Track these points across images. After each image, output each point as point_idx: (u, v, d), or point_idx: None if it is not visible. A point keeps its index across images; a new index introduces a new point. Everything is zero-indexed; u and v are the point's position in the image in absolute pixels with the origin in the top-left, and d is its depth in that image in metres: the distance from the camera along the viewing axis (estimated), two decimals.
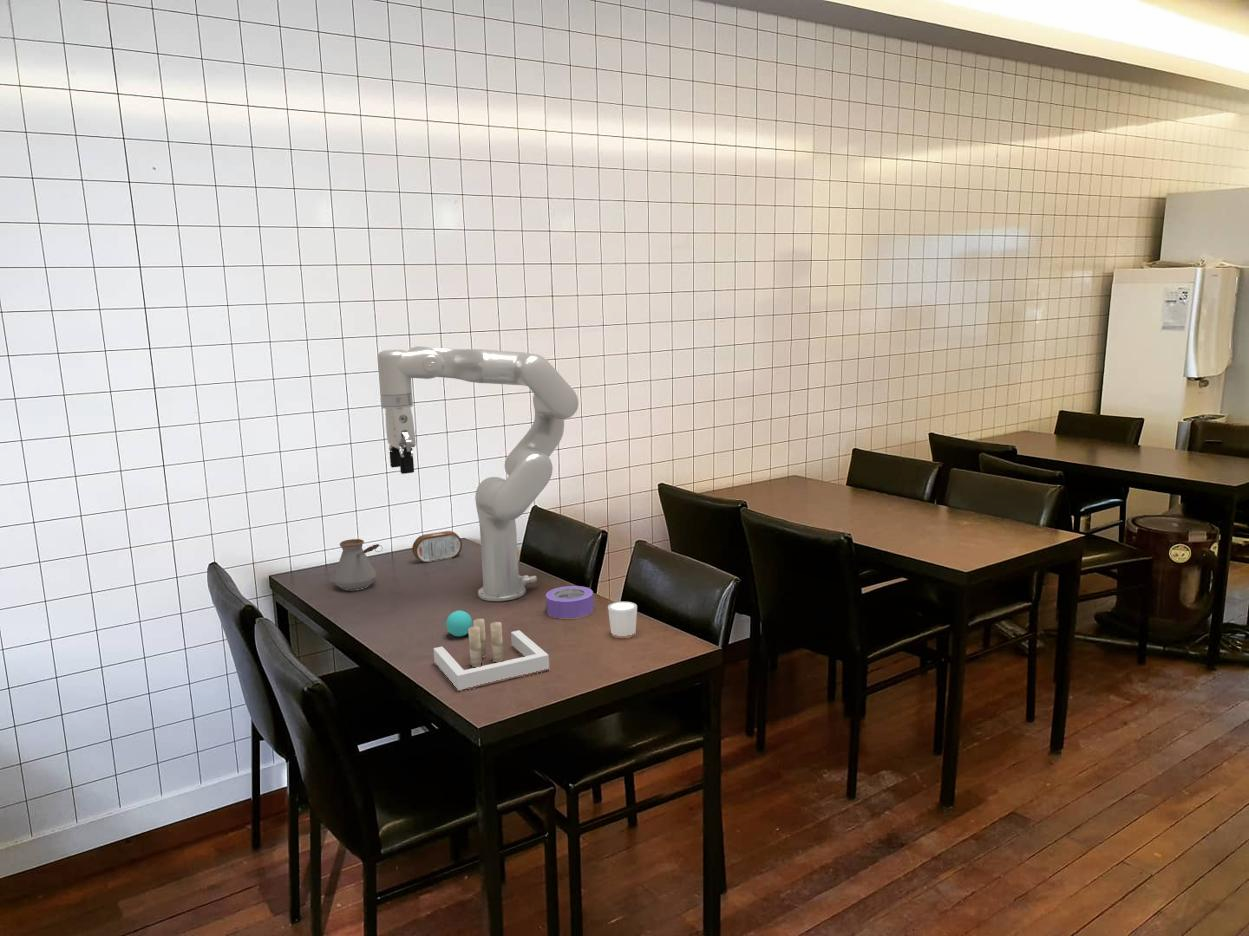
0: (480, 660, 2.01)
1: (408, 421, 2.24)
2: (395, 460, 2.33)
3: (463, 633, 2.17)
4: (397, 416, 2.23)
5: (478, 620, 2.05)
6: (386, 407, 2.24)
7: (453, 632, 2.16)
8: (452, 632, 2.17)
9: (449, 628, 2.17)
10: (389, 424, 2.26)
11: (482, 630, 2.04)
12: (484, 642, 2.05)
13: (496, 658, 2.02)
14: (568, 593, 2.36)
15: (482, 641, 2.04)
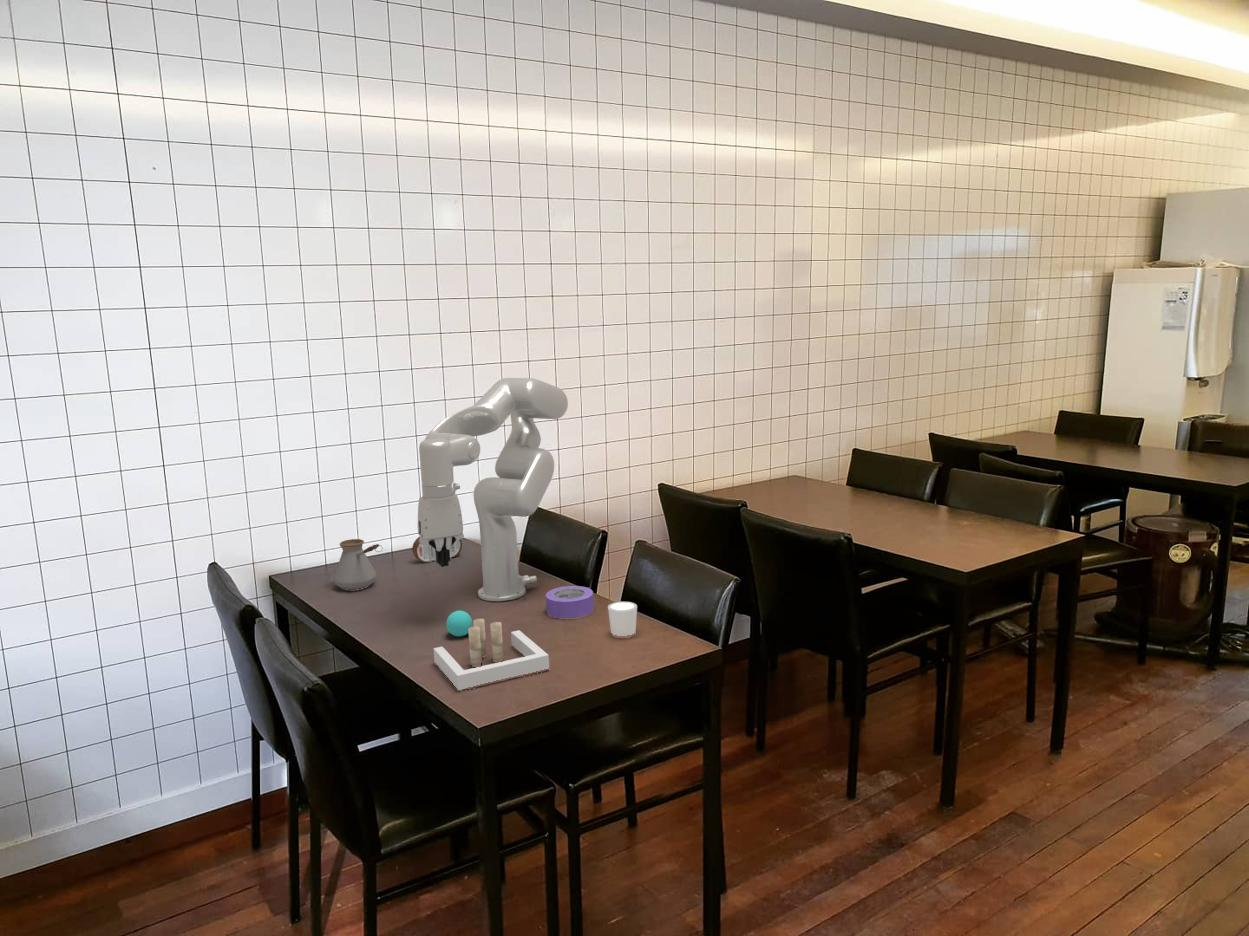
0: (480, 660, 2.01)
1: None
2: None
3: (463, 633, 2.17)
4: None
5: (478, 620, 2.05)
6: (450, 496, 2.19)
7: (453, 632, 2.16)
8: (452, 632, 2.17)
9: (449, 628, 2.17)
10: (446, 514, 2.20)
11: (482, 630, 2.04)
12: (484, 642, 2.05)
13: (496, 658, 2.02)
14: (568, 593, 2.36)
15: (482, 641, 2.04)
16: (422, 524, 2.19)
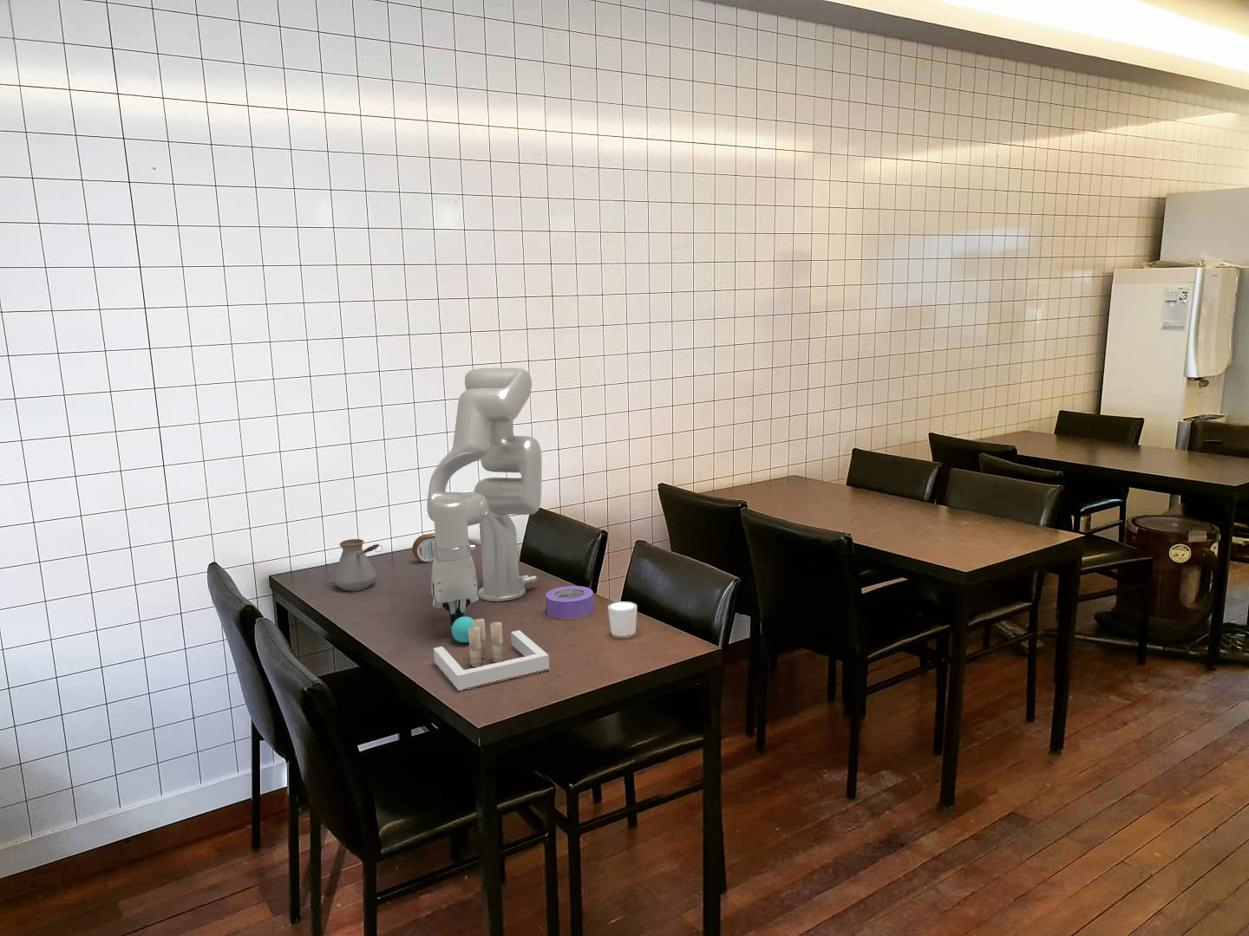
0: (480, 660, 2.01)
1: None
2: None
3: None
4: (473, 564, 2.17)
5: (478, 620, 2.05)
6: (465, 559, 2.14)
7: None
8: None
9: (453, 636, 2.14)
10: (461, 577, 2.15)
11: (482, 630, 2.04)
12: (484, 642, 2.05)
13: (496, 658, 2.02)
14: (568, 593, 2.36)
15: (482, 641, 2.04)
16: (436, 587, 2.13)
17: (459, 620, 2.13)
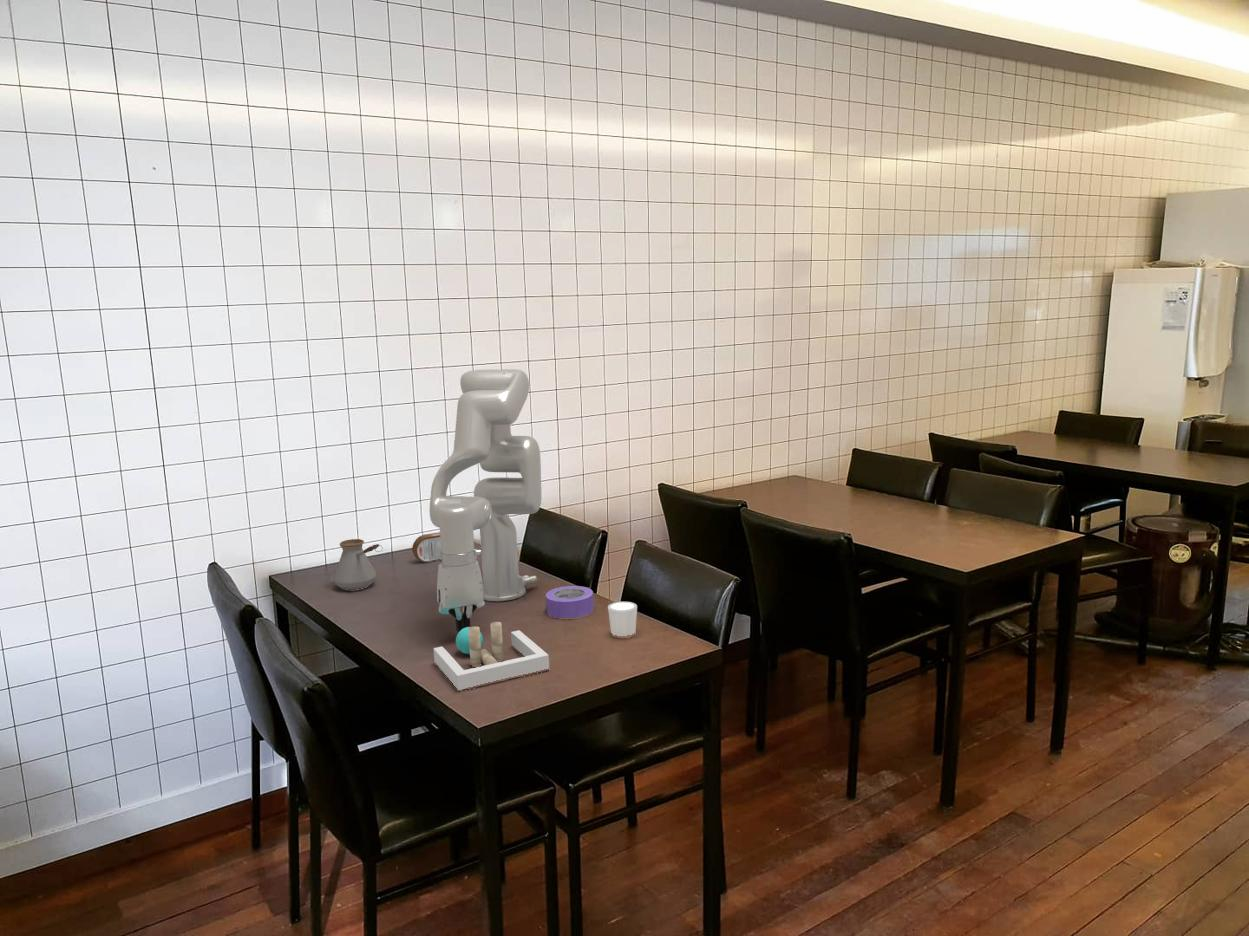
0: (480, 660, 2.01)
1: None
2: None
3: (464, 628, 2.09)
4: (479, 569, 2.14)
5: None
6: (471, 564, 2.11)
7: None
8: (456, 637, 2.08)
9: None
10: (467, 582, 2.12)
11: None
12: None
13: (496, 658, 2.02)
14: (568, 593, 2.36)
15: None
16: (442, 593, 2.11)
17: None
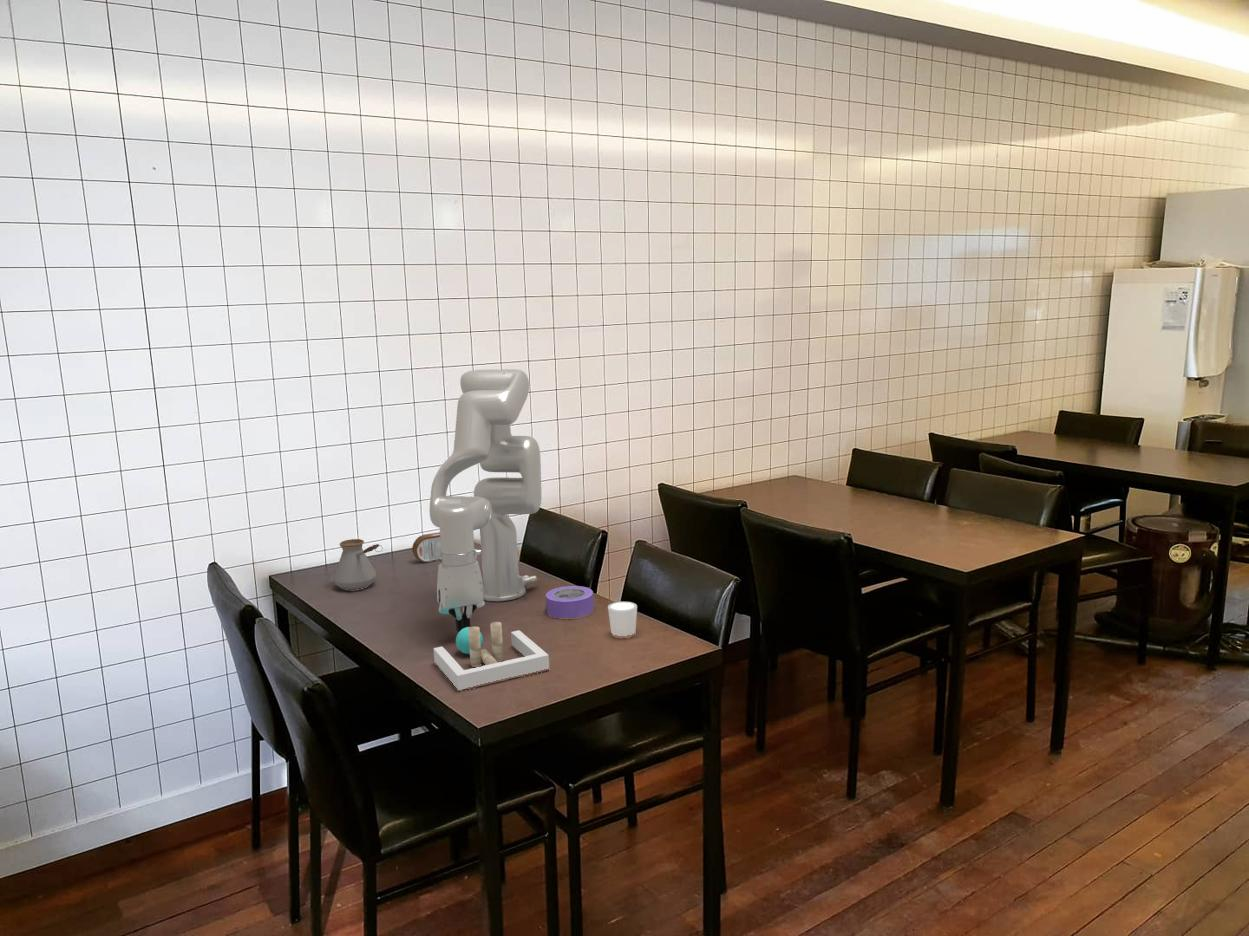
0: (480, 660, 2.01)
1: None
2: None
3: (464, 628, 2.09)
4: (479, 569, 2.14)
5: None
6: (471, 564, 2.11)
7: None
8: (456, 637, 2.08)
9: None
10: (467, 582, 2.12)
11: None
12: None
13: (496, 658, 2.02)
14: (568, 593, 2.36)
15: None
16: (442, 593, 2.11)
17: None
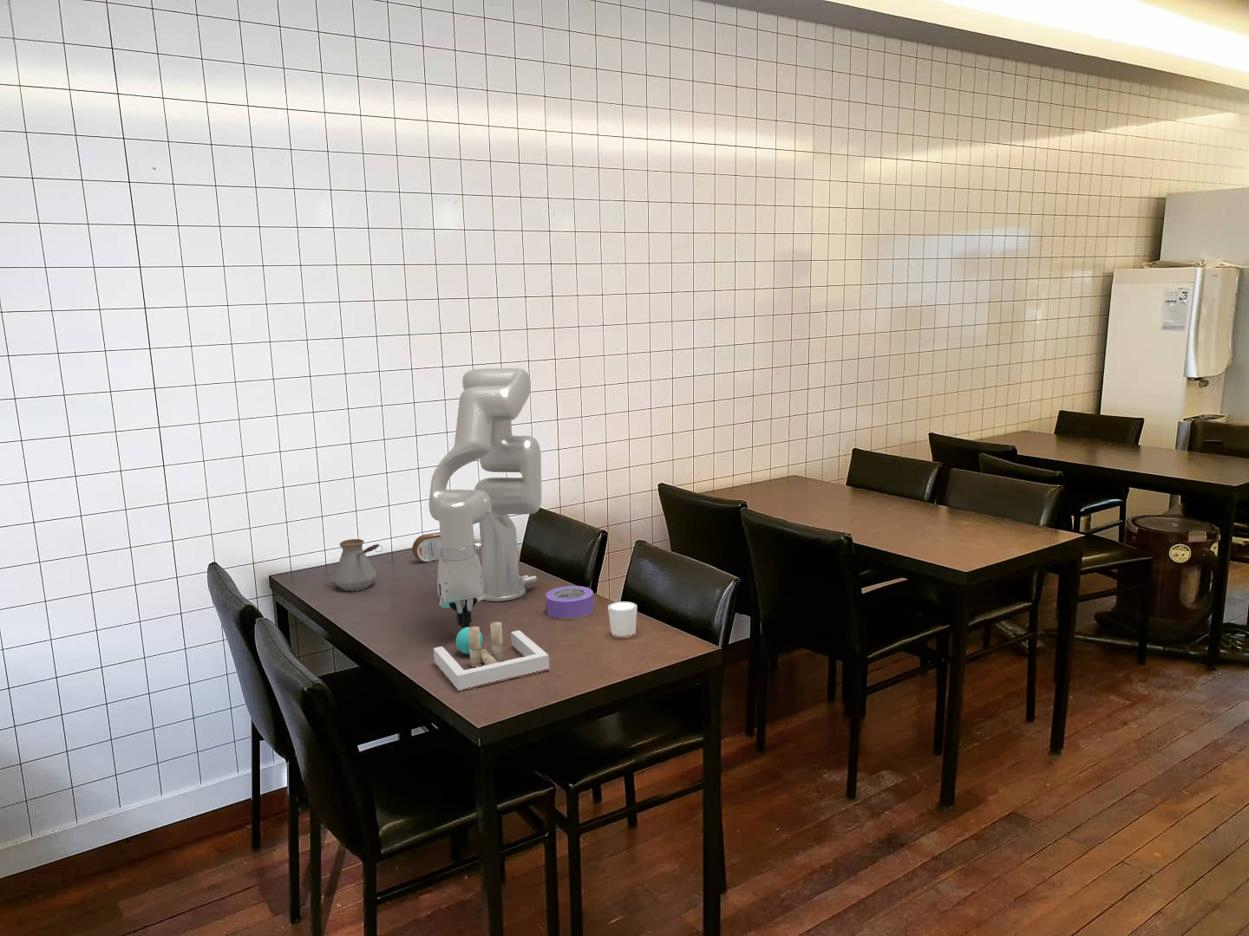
0: (480, 660, 2.01)
1: None
2: None
3: (464, 628, 2.09)
4: None
5: None
6: (471, 558, 2.11)
7: None
8: (456, 637, 2.08)
9: None
10: (467, 576, 2.12)
11: None
12: None
13: (496, 658, 2.02)
14: (568, 593, 2.36)
15: None
16: (442, 587, 2.11)
17: None
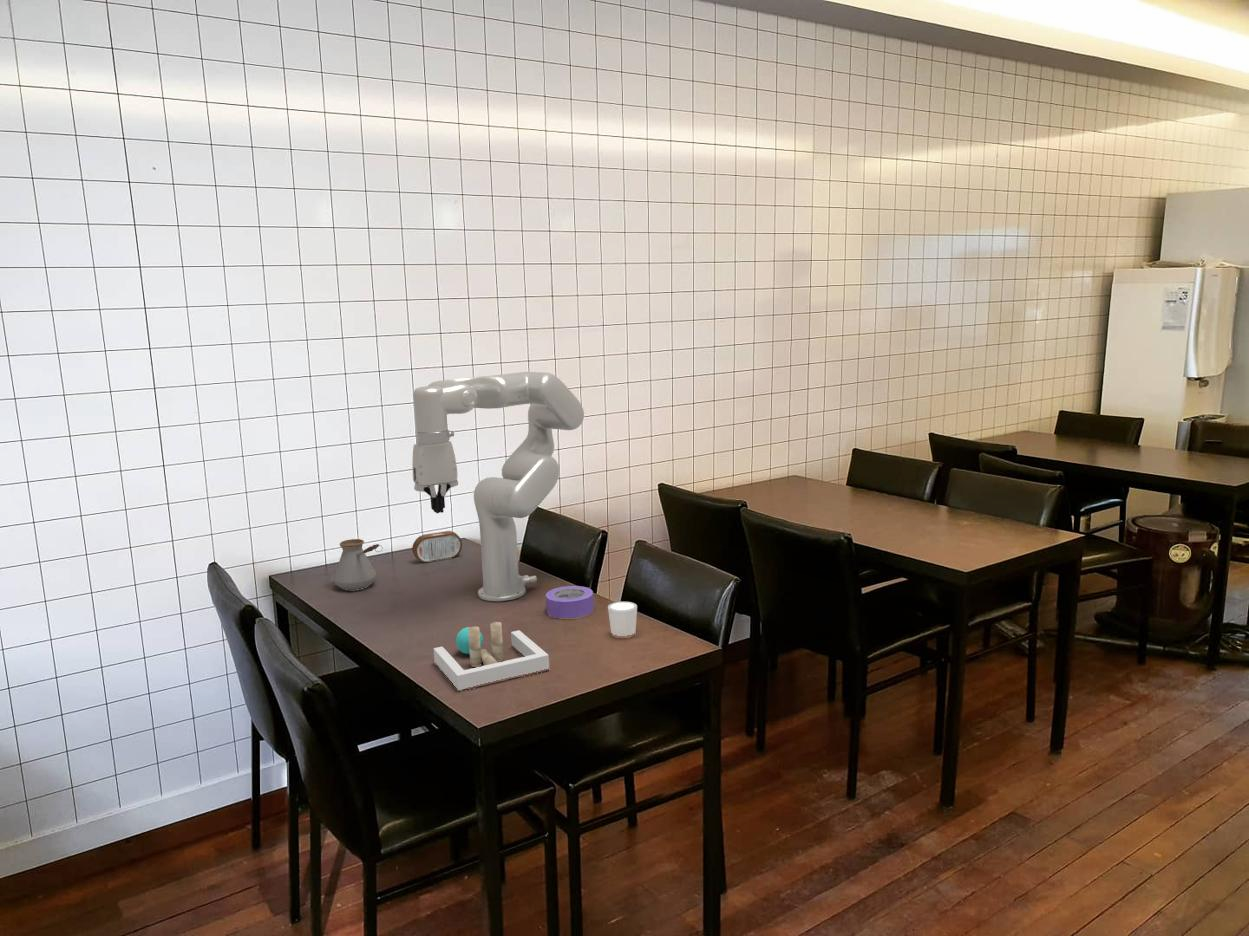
0: (480, 660, 2.01)
1: None
2: None
3: (464, 628, 2.09)
4: None
5: None
6: (445, 443, 2.22)
7: None
8: (456, 637, 2.08)
9: None
10: (441, 461, 2.23)
11: None
12: None
13: (496, 658, 2.02)
14: (568, 593, 2.36)
15: None
16: (417, 470, 2.21)
17: None
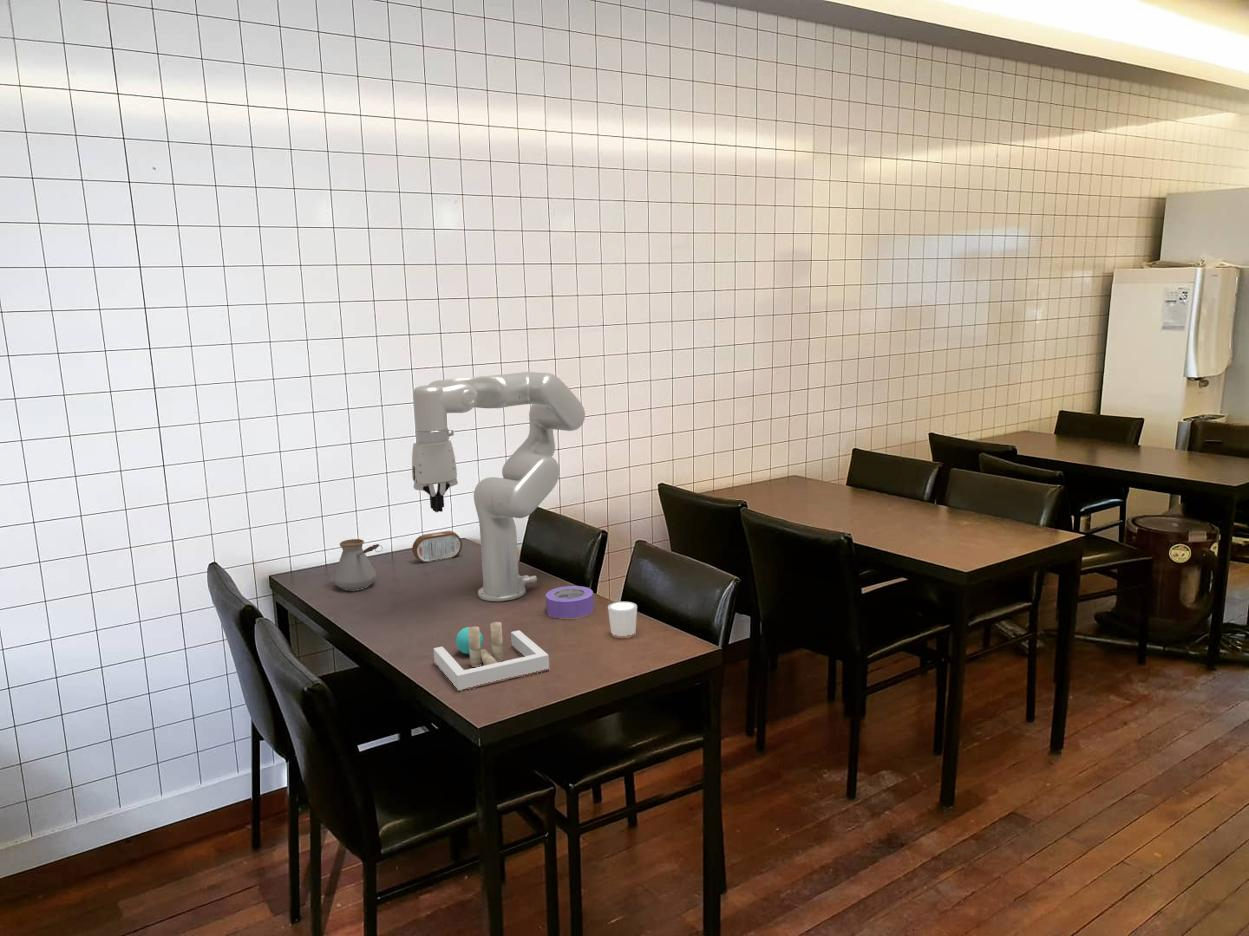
0: (480, 660, 2.01)
1: None
2: None
3: (464, 628, 2.09)
4: (452, 448, 2.25)
5: None
6: (444, 442, 2.22)
7: None
8: (456, 637, 2.08)
9: None
10: (440, 460, 2.23)
11: None
12: None
13: (496, 658, 2.02)
14: (568, 593, 2.36)
15: None
16: (416, 469, 2.22)
17: None
